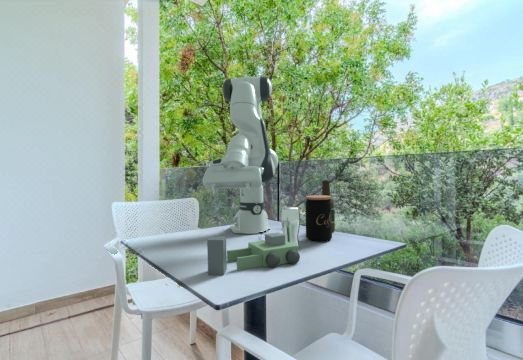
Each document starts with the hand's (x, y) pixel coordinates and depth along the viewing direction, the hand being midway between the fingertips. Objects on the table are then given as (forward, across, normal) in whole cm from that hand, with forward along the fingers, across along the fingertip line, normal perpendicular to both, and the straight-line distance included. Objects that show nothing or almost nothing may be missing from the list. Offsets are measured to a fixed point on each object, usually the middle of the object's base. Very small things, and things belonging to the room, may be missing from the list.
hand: (229, 195), depth 102 cm
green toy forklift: (+14, -10, -16) cm, 24 cm away
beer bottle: (-22, -33, -50) cm, 64 cm away
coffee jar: (-9, -29, -38) cm, 49 cm away
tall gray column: (+23, +1, -8) cm, 25 cm away
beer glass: (+2, -18, -28) cm, 34 cm away
